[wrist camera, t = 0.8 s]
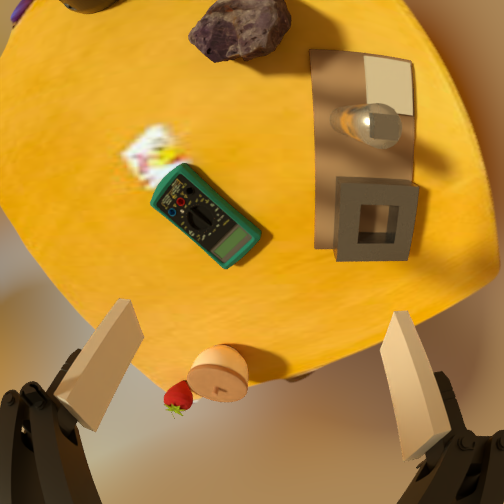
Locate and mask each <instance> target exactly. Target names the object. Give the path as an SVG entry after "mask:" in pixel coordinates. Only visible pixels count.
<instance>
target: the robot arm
mask: <svg viewBox="0 0 504 504" xmlns="http://www.w3.org/2000/svg"><path fill="white" fill-rule="evenodd" d="M59 1H61V2H62V3H63V4H64V5H65V6H66V7H67V8H68V9H70V10H72V11H75V12H78V13H82V14H90V13H95V12H98V11H101V10H103V9H105V8H107V7H109V6H111V5H112V4H114V3H115V2H117V1H118V0H59ZM143 339H144V335H143V333H142V330H141V328H140V325H139V322H138V320H137V317H136V314H135V311H134V308H133V306H132V303H131V300H128V299H120V298H119V299H118V300H117V302H116V303H115V304H114V306H113V307H112V308H111V310H110V311H109V312H108V314H107V315H106V316H105V318H104V319H103V321H102V322H101V323H100V325H99V326H98V327H97V329H96V330H95V332H94V333H93V335H92V336H91V337H90V339H89V340H88V342H87V343H86V345H85V346H84V348H83V349H82V350H81V349H77V350H76V351H75V352H73V353H72V354H71V355H70V356H69V358H68V359H67V361H66V362H65V364H64V365H63V367H62V368H61V370H60V371H59V373H58V374H57V376H56V377H55V379H54V381H53V382H52V384H51V385H50V387H49V388H48V390H47V391H46V392H45V391H44V390H43V389H42V387H41V386H40V385H39V384H38V383H37V382H34V381H32V382H28V383H26V384H25V385H24V386H23V387H22V389H21V390H20V394H19V393H18V392H17V391H16V390H9V391H8V392H6V393H5V395H4V396H3V398H2V401H1V406H0V504H102V502H101V500H100V497H99V495H98V492H97V489H96V487H95V484H94V481H93V479H92V476H91V473H90V470H89V467H88V464H87V460H86V457H85V453H84V450H83V446H82V442H81V439H80V435H79V430H78V428H77V426H76V423H77V421H78V422H79V423H80V424H81V425H82V426H83V427H85V428H87V429H90V430H92V431H94V432H96V431H97V429H98V427H99V425H100V422H101V420H102V418H103V416H104V414H105V412H106V410H107V408H108V406H109V404H110V402H111V400H112V398H113V396H114V394H115V392H116V390H117V388H118V386H119V384H120V382H121V380H122V378H123V376H124V374H125V372H126V370H127V368H128V366H129V365H130V363H131V361H132V359H133V357H134V355H135V353H136V351H137V350H138V348H139V346H140V344H141V342H142V340H143ZM380 353H381V356H382V360H383V364H384V367H385V372H386V376H387V380H388V384H389V388H390V393H391V397H392V402H393V406H394V411H395V416H396V422H397V427H398V432H399V438H400V444H401V450H402V457H403V462H405V461H409V460H414V459H418V458H420V457H421V456H422V455H423V454H425V455H426V459H425V460H424V461H422V462H421V463H420V464H419V465H418V466H417V467H416V468H417V469H418V468H419V467H420V469H419V471H418V472H417V474H416V476H415V477H414V479H413V480H412V482H411V483H410V485H409V486H408V488H407V490H406V491H405V492H404V494H403V495H402V497H401V498H400V500H399V501H398V502H397V504H503V502H504V430H499V431H498V432H496V433H495V434H494V435H493V436H475V434H474V433H473V432H472V431H470V430H467V429H466V427H465V424H464V421H463V418H462V415H461V412H460V409H459V406H458V403H457V400H456V399H455V394H454V391H453V390H452V389H453V388H452V386H451V383H450V380H449V379H448V377H447V376H446V375H445V374H444V373H443V372H442V371H441V372H435V373H433V371H432V368H431V366H430V363H429V360H428V358H427V355H426V353H425V350H424V348H423V345H422V343H421V340H420V338H419V336H418V333H417V331H416V329H415V326H414V324H413V322H412V319H411V317H410V315H409V313H408V311H394V313H393V316H392V319H391V322H390V324H389V327H388V330H387V333H386V335H385V338H384V341H383V343H382V346H381V348H380ZM22 427H23V428H24V429H25V430H24V433H23V432H21V430H22Z"/></svg>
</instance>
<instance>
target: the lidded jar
mask: <svg viewBox="0 0 504 504" xmlns="http://www.w3.org/2000/svg"><path fill="white" fill-rule="evenodd" d="M187 382H188V384H189V386H190V387H191V389H192V390H193V391H194V392H196V393H197V394H199V395H200V396H202V397H204V398H207V399H210V400H213V401H218V402H233V401H238V400H240V399H242V398H243V397H245V395H246V394H247V390H248V367H247V364H246V362H245V360H244V358H243V357H242V356H241V355H240V354H239V352H238V351H237V350H236V349H234V348H232V347H230V346H227V345H215V346H213V347H210V348H207V349H206V350H204V351H202V352H201V353H200V354H199V355H198V356H197V358H196V359H195V361H194V362H193V364H192V367H191V370H190V371H189V373H188V376H187Z"/></svg>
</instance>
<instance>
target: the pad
mask: <svg viewBox="0 0 504 504" xmlns="http://www.w3.org/2000/svg"><path fill="white" fill-rule="evenodd" d="M364 66H365V78H366V96H367V104H373V103H382V104H386V105H388V106H390V107H392V108H393V109H394V110H395V111H396V112H397V113H398V114H405V115H413V99H412V80H411V67H410V63H408V62H403V61H398V60H392V59H386V58H379V57H372V56H364Z"/></svg>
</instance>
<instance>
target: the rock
mask: <svg viewBox="0 0 504 504" xmlns="http://www.w3.org/2000/svg"><path fill="white" fill-rule="evenodd" d="M290 27H291V15H290V13H289V11H288V10H287V6H286V3H285V1H284V0H218V1H216V2H215V3H214V4H213V5H212V6H211V7H210V8H209V9H208V11H207V12H206V14H205V15H204V16H203V18H202V19H201V20H200V21H198V23H197V25H196V26H195V27H194V28H192V30H191V32H190V33H189V35H188V38H189V41H190V43H191V44H194V45H195V46H196V47H197V48H198V49H199V50H200V51H201V52H202V53H203V54H204V55H205V56H206V57H208V58H209V59H210V60H211V61H213V62H214V63H216V62H221V61H228V60H234V59H236V58H238V57H242V58H243V60H244V61H249V60H251V59H253V58H256V57H260V56H265V55H268V54H269V53H271V52H273V51H275V48H276V47H277V45H278V44H280V42H281V40H282V38H283V36H284V34H285V33H286V32H287V31H288V30H289V28H290Z"/></svg>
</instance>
